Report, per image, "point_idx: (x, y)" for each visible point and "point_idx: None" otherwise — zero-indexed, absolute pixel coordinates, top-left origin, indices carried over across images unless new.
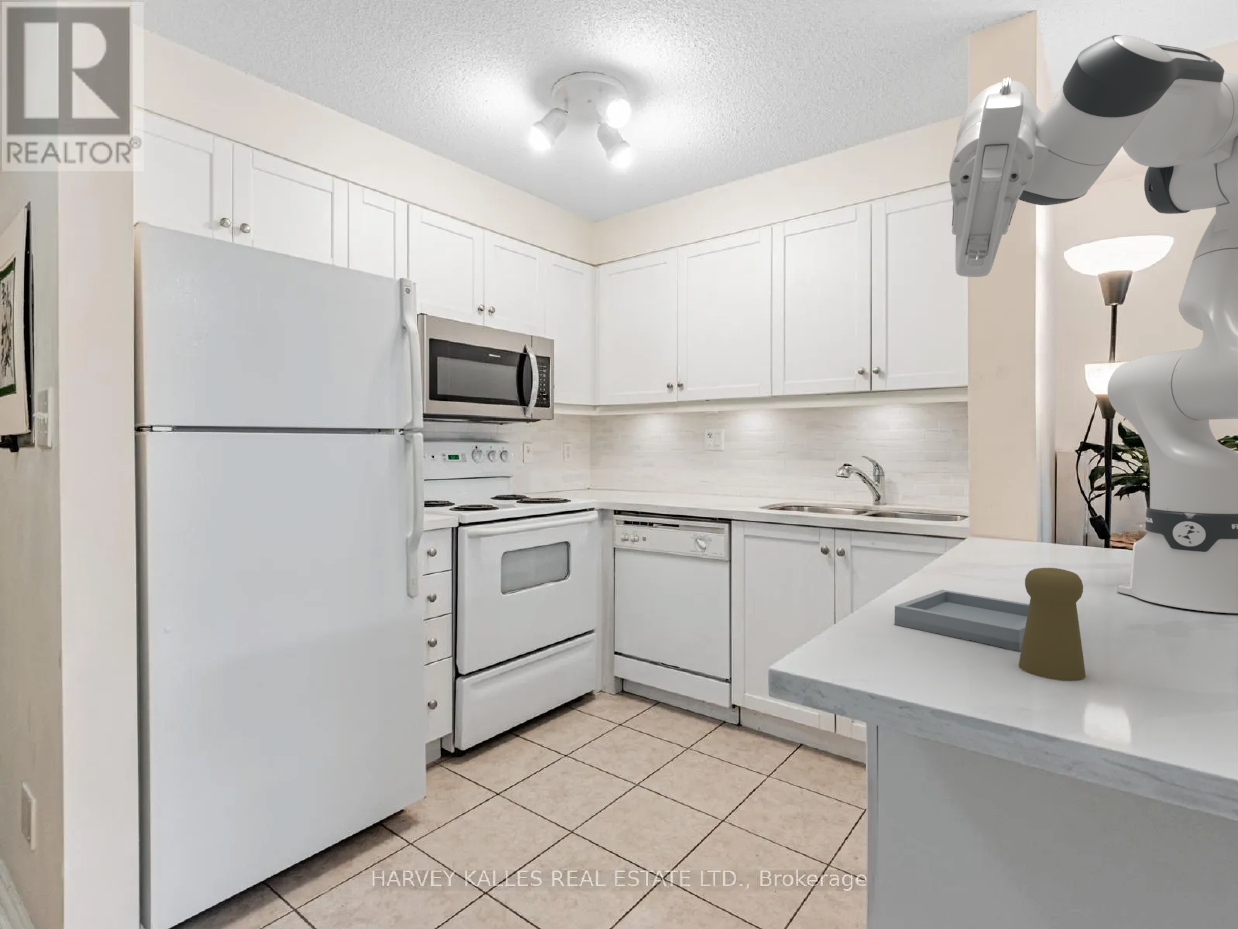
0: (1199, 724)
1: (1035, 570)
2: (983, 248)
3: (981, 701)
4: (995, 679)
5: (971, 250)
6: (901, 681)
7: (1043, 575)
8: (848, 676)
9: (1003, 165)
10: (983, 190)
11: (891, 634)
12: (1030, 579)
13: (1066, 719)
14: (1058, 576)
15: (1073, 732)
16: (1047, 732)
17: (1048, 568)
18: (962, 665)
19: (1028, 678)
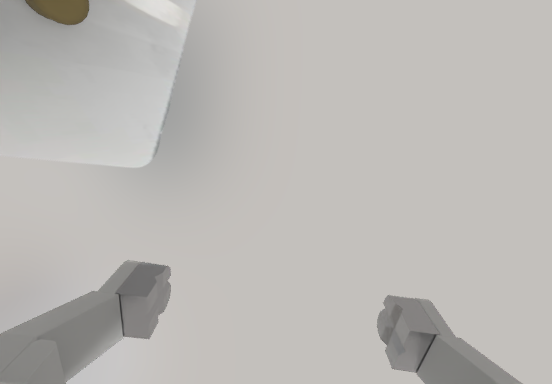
0: None
1: (67, 16)
2: (52, 368)
3: (151, 68)
4: (102, 49)
5: (150, 329)
6: (137, 108)
7: (83, 15)
8: (142, 135)
9: (467, 343)
10: (378, 318)
11: (5, 114)
12: (76, 23)
13: (160, 28)
14: (85, 2)
15: (176, 32)
16: (181, 46)
17: (60, 2)
18: (78, 66)
19: (86, 23)
